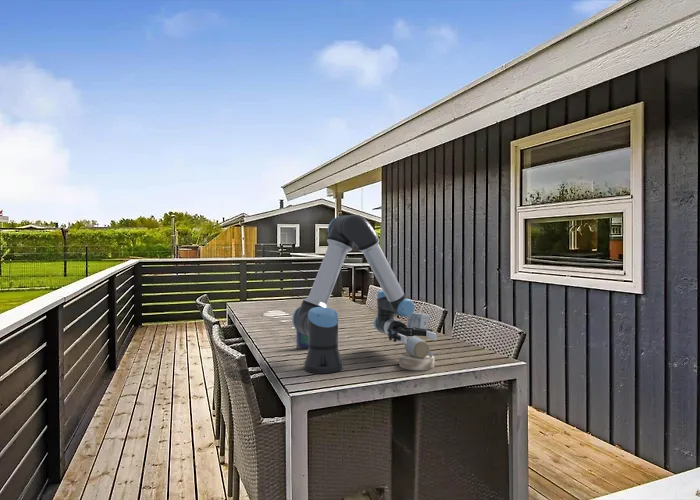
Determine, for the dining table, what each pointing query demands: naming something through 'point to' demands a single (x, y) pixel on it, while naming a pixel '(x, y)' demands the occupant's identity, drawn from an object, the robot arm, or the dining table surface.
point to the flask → (302, 341)
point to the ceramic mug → (417, 347)
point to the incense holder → (418, 320)
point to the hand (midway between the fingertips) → (421, 338)
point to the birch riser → (416, 362)
